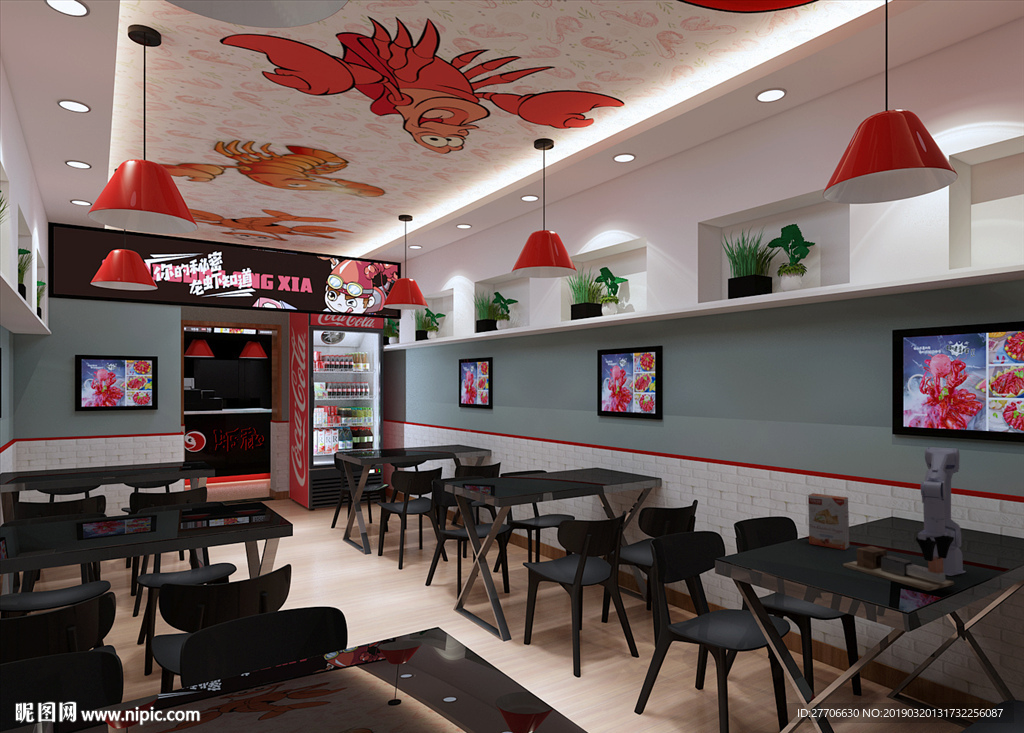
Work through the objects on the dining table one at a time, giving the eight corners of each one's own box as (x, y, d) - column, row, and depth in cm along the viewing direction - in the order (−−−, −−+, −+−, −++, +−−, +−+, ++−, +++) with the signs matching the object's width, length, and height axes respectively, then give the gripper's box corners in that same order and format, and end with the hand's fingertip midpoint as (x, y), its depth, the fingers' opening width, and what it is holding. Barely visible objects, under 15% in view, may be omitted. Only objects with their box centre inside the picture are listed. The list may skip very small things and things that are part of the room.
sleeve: (889, 568, 215) (889, 555, 215) (912, 574, 208) (912, 560, 208) (881, 570, 213) (880, 556, 213) (904, 576, 206) (903, 562, 206)
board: (867, 561, 227) (867, 558, 227) (953, 584, 200) (953, 581, 200) (842, 566, 221) (842, 563, 221) (928, 591, 194) (928, 587, 194)
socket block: (871, 562, 223) (870, 545, 223) (887, 566, 218) (886, 549, 218) (857, 565, 220) (856, 548, 220) (872, 569, 214) (872, 552, 214)
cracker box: (808, 544, 253) (807, 494, 253) (813, 541, 257) (812, 492, 258) (845, 550, 243) (843, 498, 243) (849, 547, 247) (848, 496, 248)
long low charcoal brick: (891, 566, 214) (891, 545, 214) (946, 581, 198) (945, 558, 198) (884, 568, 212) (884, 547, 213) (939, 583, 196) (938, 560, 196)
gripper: (933, 522, 193) (935, 565, 192) (960, 517, 199) (961, 559, 198) (911, 518, 199) (912, 559, 199) (937, 514, 205) (938, 554, 205)
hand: (935, 559), depth 199 cm, fingers open, 7 cm apart
